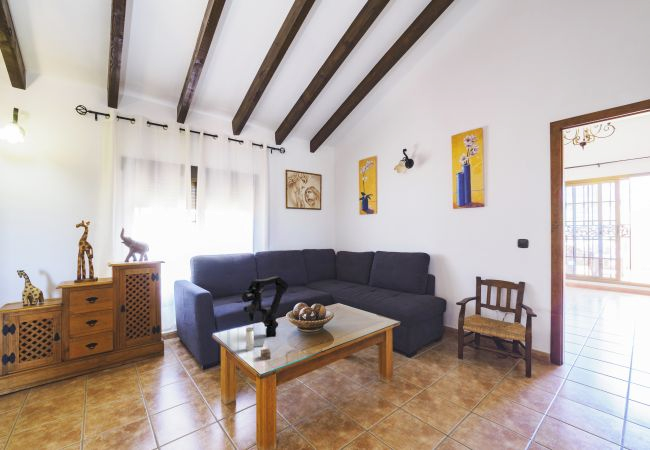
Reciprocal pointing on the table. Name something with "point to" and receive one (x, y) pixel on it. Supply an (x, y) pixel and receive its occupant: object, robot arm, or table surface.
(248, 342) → the jar
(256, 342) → the slate tile
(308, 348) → the table surface
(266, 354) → the walnut block
